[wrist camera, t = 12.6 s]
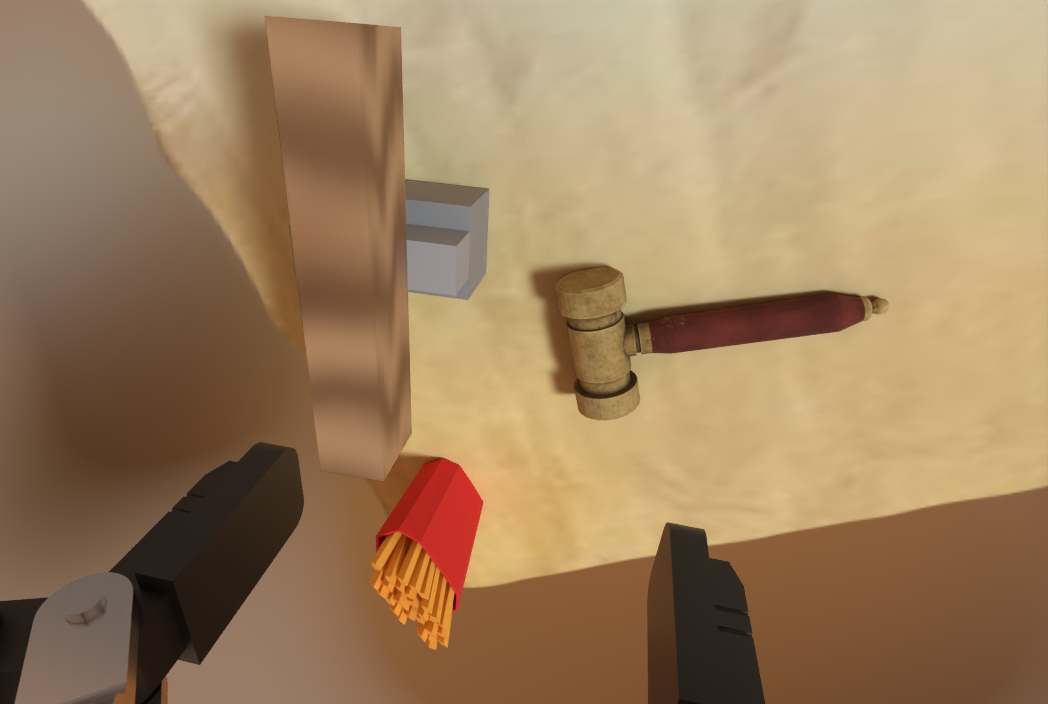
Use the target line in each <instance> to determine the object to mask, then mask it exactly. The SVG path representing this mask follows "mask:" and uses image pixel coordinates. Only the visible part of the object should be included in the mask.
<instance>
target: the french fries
mask: <svg viewBox="0 0 1048 704" xmlns="http://www.w3.org/2000/svg"><path fill="white" fill-rule="evenodd" d="M482 506H483V501H482V499H481V497H480V496H479V494H478V492H477V491H476V489H475V487H474V486H473V484H472V483H471V481H470V480H469V478H468V477H467V475H466V474H465V472H464V471H463V470H462V468H461V467H460V465H458V464H455V463H453V462H451V461H449V460H447V459H445V458H441V459H438V460H435V461H432V462H429V463H426V464H424V465H423V467H422V468H421V470H420V471H419V473H418V474H417V476H416V477H415V479H414V480H413V482H412V483H411V485H410V486H409V488H408V489H407V491H406V492H405V494H404V495H403V497H402V498H401V500H400V501H399V503H398V504H397V506H396V507H395V509H394V510H393V511H392V513H391V514H390V516H389V517H388V519H387V520H386V522H385V523H384V525H383V527H382V528H381V530H380V531H379V532H378V534H377V535H376V555H375V557H374V558H373V560H372V561H371V566H372V567H373V568H374V569H375V572H374V574H373V576H372V578H371V580H370V583H371V585H372V586H373V587H374V588H375V589H376V592H377V593H378V594H379V595H381V596H382V597H383V598H385V599H386V601H387V602H388V604H390V606H389V608H390V609H391V610H392V611H393V613H394V614H395V617H396V618H397V619H398V620H399V621H401V622H402V623H403V624H405V622H406V619H407V616H408V617H409V618H410V619H412V620H413V621H415V619H417V621H418V623H417V627H418V629H417V631H416V633H417V634H418V635H419V637H420V638H421V639H422V640H423V641H425V645H427V646H428V647H429V648H432V649H435V650H436V646H437V640H438V641H439V642H440V643H441V644H442V645H444V646H446V647H448V639H449V632H450V624H451V617H452V612H453V611H457V610H458V606H459V602H460V598H461V594H462V590H463V586H464V581H465V577H466V573H467V569H468V565H469V560H470V556H471V552H472V548H473V544H474V540H475V535H476V531H477V527H478V523H479V519H480V514H481V510H482Z"/></svg>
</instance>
